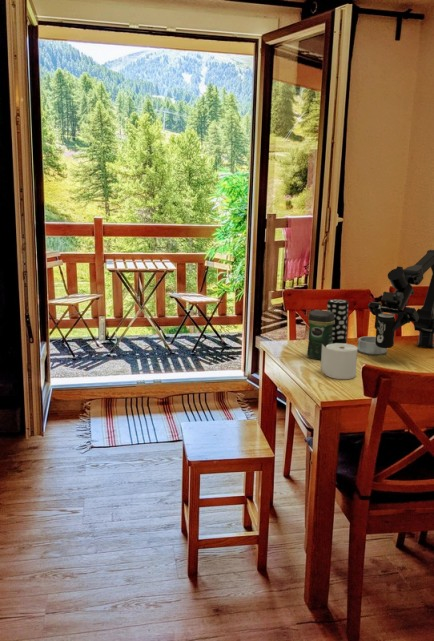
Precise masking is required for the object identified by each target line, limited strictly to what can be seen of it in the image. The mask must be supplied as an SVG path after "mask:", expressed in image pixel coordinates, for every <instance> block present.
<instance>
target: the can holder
mask: <svg viewBox="0 0 434 641" xmlns="http://www.w3.org/2000/svg"><path fill="white" fill-rule="evenodd" d="M375 342H376V336H370V335H369V336H367V335H366V336H361V337H358V338H357V349H358V350H357V353H360V354H362V355H367V356H385V355H387V354H388V348H380V347H378V346H377V345H376V344H375Z"/></svg>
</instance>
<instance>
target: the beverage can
mask: <svg viewBox="0 0 434 641" xmlns="http://www.w3.org/2000/svg"><path fill="white" fill-rule="evenodd" d="M395 321H396V318H395V314H390V313H383V314H379V315H378V318H377V325H376V329H375V337H376V342H375V344H376V345H377V346H378V347H380V348H387V349H391V348H392V347H393V346H394V345H395V331H396V330H395V331H394V332H392V331H391V329H392V327H393V325H394V323H395Z"/></svg>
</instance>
